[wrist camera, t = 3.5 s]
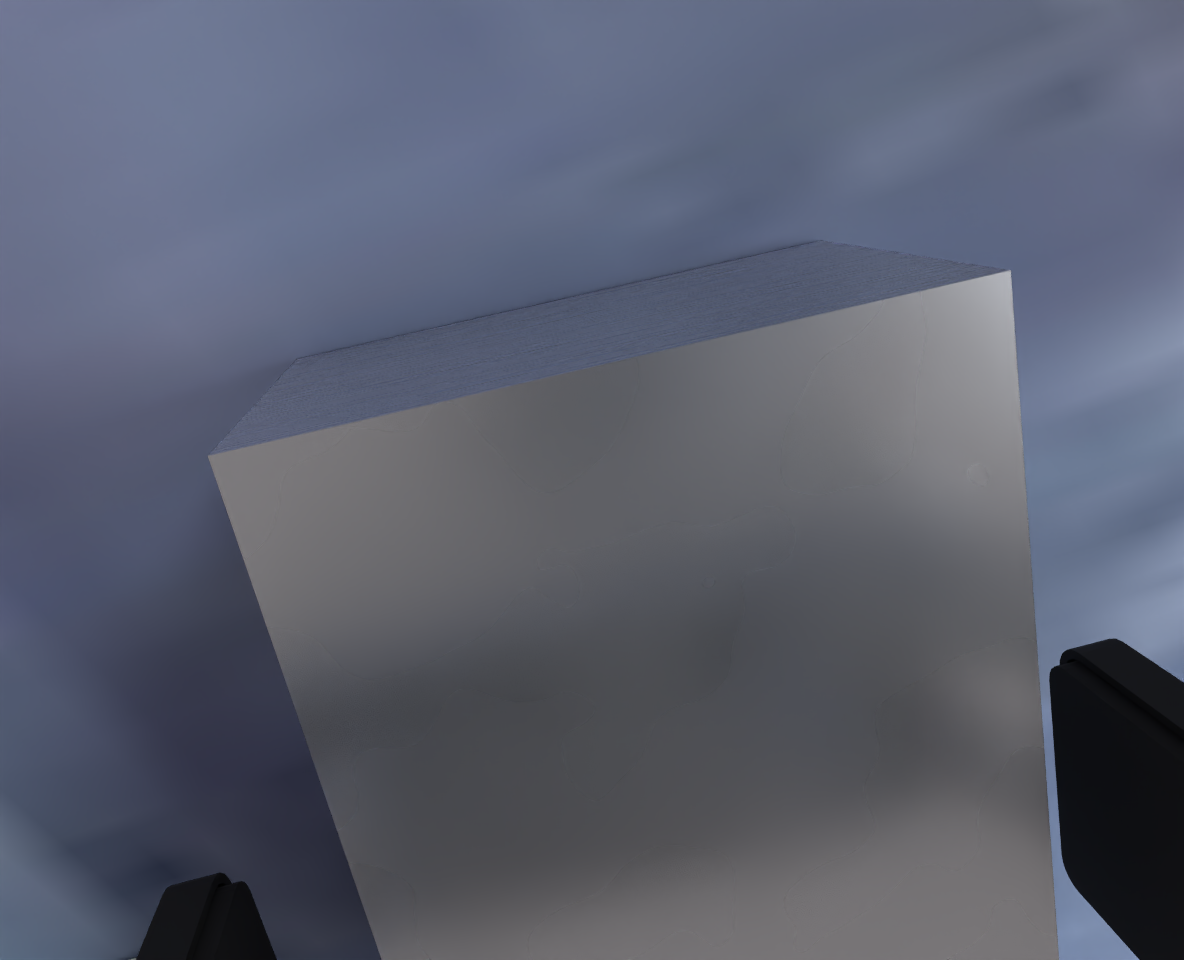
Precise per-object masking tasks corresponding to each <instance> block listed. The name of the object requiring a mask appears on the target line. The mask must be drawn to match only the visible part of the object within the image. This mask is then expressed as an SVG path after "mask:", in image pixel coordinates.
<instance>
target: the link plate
mask: <svg viewBox="0 0 1184 960" xmlns="http://www.w3.org/2000/svg"><path fill="white" fill-rule="evenodd" d="M208 458H209V461H210V464H211V467H212V470H213V473H214V476H215V478H216V481H217V484H218V487H219V490H220V493H221V496H222V499H223V502H224V505H225V507H226V510H227V513H228V516H229V519H230V522H231V525H232V528H233V531H234V533H235V536H236V539H237V542H238V545H239V548H240V551H241V554H242V557H243V560H244V562H245V565H246V568H247V571H248V574H249V577H250V580H251V583H252V586H253V589H254V591H255V594H256V597H257V600H258V603H259V606H260V609H261V612H262V615H263V618H264V620H265V623H266V626H267V629H268V632H269V635H270V638H271V641H272V644H273V647H274V649H275V652H276V655H277V658H278V661H279V664H280V667H281V670H282V673H283V675H284V678H285V681H286V684H287V687H288V690H289V693H290V696H291V699H292V702H293V704H294V707H295V710H296V713H297V716H298V719H299V722H300V725H301V728H302V731H303V733H304V736H305V739H306V742H307V745H308V748H309V751H310V754H311V757H312V760H313V762H314V765H315V768H316V771H317V774H318V777H319V780H320V783H321V786H322V788H323V791H324V794H325V797H326V800H327V803H328V806H329V809H330V812H331V815H332V817H333V820H334V823H335V826H336V829H337V832H338V835H339V838H340V841H341V844H342V846H343V849H344V852H345V855H346V858H347V861H348V864H349V867H350V870H351V873H352V875H353V878H354V881H355V884H356V887H357V890H358V893H359V896H360V899H361V901H362V904H363V907H364V910H365V913H366V916H367V919H368V922H369V925H370V928H371V930H372V933H373V936H374V939H375V942H376V945H377V948H378V951H379V954H380V957H381V959H382V960H1059V953H1058V939H1057V925H1056V911H1055V896H1054V882H1053V868H1052V853H1051V839H1050V825H1049V811H1048V796H1047V782H1046V768H1045V754H1044V739H1043V725H1042V711H1041V696H1040V682H1039V668H1038V654H1037V639H1036V625H1035V611H1034V597H1033V582H1032V568H1031V554H1030V539H1029V525H1028V511H1027V497H1026V482H1025V468H1024V454H1023V440H1022V425H1021V411H1020V397H1019V382H1018V368H1017V354H1016V340H1015V325H1014V311H1013V297H1012V283H1011V270H1005V269H999V268H993V267H987V266H980V265H974V264H968V263H961V262H955V261H949V260H942V259H936V258H930V257H924V256H917V255H911V254H905V253H898V252H892V251H886V250H879V249H873V248H867V247H861V246H854V245H848V244H842V243H835V242H829V241H823V240H821V241H816V242H812V243H808V244H803V245H799V246H794V247H790V248H786V249H781V250H777V251H772V252H768V253H763V254H759V255H755V256H750V257H746V258H741V259H737V260H733V261H728V262H724V263H719V264H715V265H710V266H706V267H702V268H697V269H693V270H688V271H684V272H679V273H675V274H671V275H666V276H662V277H657V278H653V279H649V280H644V281H640V282H635V283H631V284H626V285H622V286H618V287H613V288H609V289H604V290H600V291H596V292H591V293H587V294H582V295H578V296H573V297H569V298H565V299H560V300H556V301H551V302H547V303H543V304H538V305H534V306H529V307H525V308H520V309H516V310H512V311H507V312H503V313H498V314H494V315H489V316H485V317H481V318H476V319H472V320H467V321H463V322H459V323H454V324H450V325H445V326H441V327H436V328H432V329H428V330H423V331H419V332H414V333H410V334H406V335H401V336H397V337H392V338H388V339H383V340H379V341H375V342H370V343H366V344H361V345H357V346H353V347H348V348H344V349H339V350H335V351H330V352H326V353H322V354H317V355H313V356H308V357H304V358H299V359H296V360H295V362H294V363H293V364H292V365H291V366H290V367H289V368H288V369H287V370H286V371H285V372H284V374H283V375H282V376H281V377H280V378H279V379H278V380H277V381H276V382H275V383H274V384H273V385H272V387H271V388H270V389H269V390H268V391H267V392H266V393H265V394H264V395H263V396H262V397H261V399H260V400H259V401H258V402H257V403H256V404H255V405H254V406H253V407H252V408H251V409H250V410H249V412H248V413H247V414H246V415H245V416H244V417H243V418H242V419H241V420H240V421H239V422H238V424H237V425H236V426H235V427H234V428H233V429H232V430H231V431H230V432H229V433H228V434H227V436H226V437H225V438H224V439H223V440H222V441H221V442H220V443H219V444H218V445H217V446H216V447H215V449H214V450H213V451H212V452H211V453H210V454H209V455H208Z"/></svg>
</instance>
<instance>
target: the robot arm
mask: <svg viewBox="0 0 1184 960" xmlns="http://www.w3.org/2000/svg"><path fill="white" fill-rule="evenodd" d="M1049 682H1050V696H1051V710H1052V724H1053V738H1054V752H1055V767H1056V781H1057V795H1058V809H1059V823H1060V837H1061V851H1062V859H1063V863H1064V866H1065V869H1066V872H1067V874H1068V876H1069V878H1070V880H1071V882H1072V883H1073V885H1074V886H1075V888H1076V889H1077V890H1078V892H1079V893H1080V894H1081V895H1082V896H1083V897H1084V898H1085V899H1086V900H1087V902H1088V903H1089V904H1090V905H1091V906H1092V907H1093V908H1094V909H1095V911H1096V912H1097V913H1098V914H1099V915H1100V916H1101V917H1102V918H1103V919H1104V921H1105V922H1106V923H1107V924H1108V925H1109V926H1110V927H1111V928H1112V930H1113V931H1114V932H1115V933H1116V934H1117V935H1118V936H1119V937H1120V938H1121V940H1122V941H1123V942H1124V943H1125V944H1126V945H1127V946H1128V947H1129V948H1130V950H1131V951H1132V952H1133V953H1134V954H1135V955H1136V956H1137V957H1138V959H1139V960H1184V683H1183V682H1182V681H1180V680H1179V679H1177V678H1176V677H1174V676H1173V675H1171V674H1170V673H1168V672H1167V671H1165V670H1164V669H1162V668H1161V667H1159V666H1158V665H1156V664H1155V663H1154V662H1152V661H1151V660H1149V659H1148V658H1146V657H1145V656H1143V655H1142V654H1140V653H1139V652H1137V651H1136V650H1134V649H1133V648H1131V647H1130V646H1128V645H1127V644H1125V643H1124V642H1122V641H1120V640H1117V639H1107V640H1103V641H1099V642H1095V643H1092V644H1088V645H1084V646H1080V647H1076V648H1073V649H1069V650H1066V651H1065V652H1064V653H1062V656H1061V659H1060V665H1059V666H1055V667H1053V668H1052V669H1051V672H1050V678H1049ZM136 960H277V959H276V957H275V954H274V951H273V949H272V946H271V944H270V941H269V938H268V936H267V933H266V931H265V928H264V925H263V923H262V920H261V917H260V915H259V912H258V910H257V907H256V904H255V902H254V899H253V897H252V894H251V892H250V890H249V887H248V886H247V884H246V883H245V882H242V881H240V882H236V883H233V884H232V883H231V881H230V879H229V878H228V877H227V876H226V875H225V874H224V873H217V874H213V875H209V876H205V877H201V878H198V879H194V880H190V881H186V882H182V883H179V884H175V885H171V886H170V887H168V888H167V889H166V890H165V892H164V894H163V895H162V898H161V900H160V903H159V905H158V907H157V910H156V912H155V915H154V917H153V920H152V922H151V924H150V927H149V929H148V932H147V934H146V937H145V939H144V941H143V944H142V946H141V949H140V951H139V954H138V956H137V958H136Z"/></svg>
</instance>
